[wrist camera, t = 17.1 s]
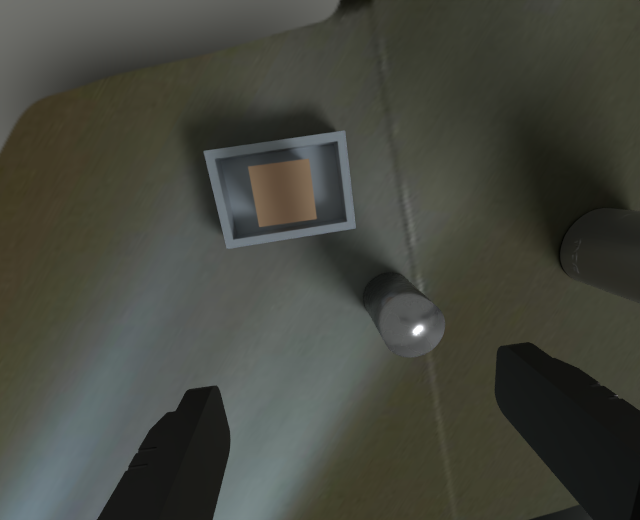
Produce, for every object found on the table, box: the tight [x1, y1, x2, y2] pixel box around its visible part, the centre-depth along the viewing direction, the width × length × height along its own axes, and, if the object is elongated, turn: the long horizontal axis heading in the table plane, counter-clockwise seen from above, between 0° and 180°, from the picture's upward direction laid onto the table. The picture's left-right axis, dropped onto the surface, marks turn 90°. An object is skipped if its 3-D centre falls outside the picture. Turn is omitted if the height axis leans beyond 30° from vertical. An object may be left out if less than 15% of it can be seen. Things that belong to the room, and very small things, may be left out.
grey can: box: [363, 273, 445, 357], centre depth 32 cm, size 6×6×8 cm
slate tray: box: [204, 131, 356, 249], centre depth 30 cm, size 13×9×3 cm
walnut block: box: [248, 159, 317, 227], centre depth 28 cm, size 5×5×6 cm
